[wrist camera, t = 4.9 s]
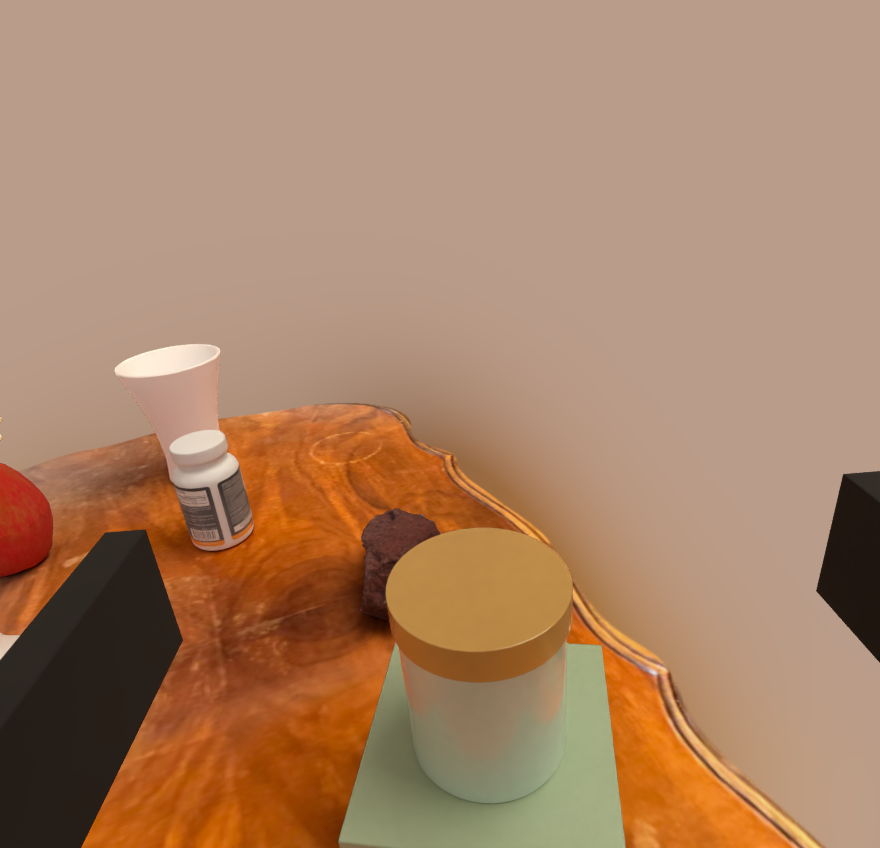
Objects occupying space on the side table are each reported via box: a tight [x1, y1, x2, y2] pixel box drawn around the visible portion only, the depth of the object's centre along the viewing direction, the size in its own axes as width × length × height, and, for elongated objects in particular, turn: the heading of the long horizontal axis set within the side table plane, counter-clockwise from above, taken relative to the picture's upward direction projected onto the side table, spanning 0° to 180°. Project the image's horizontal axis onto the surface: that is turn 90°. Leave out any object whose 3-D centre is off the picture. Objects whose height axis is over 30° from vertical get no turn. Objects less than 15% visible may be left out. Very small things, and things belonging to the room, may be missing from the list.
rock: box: [360, 508, 440, 621], centre depth 47 cm, size 11×6×8 cm
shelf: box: [338, 642, 626, 848], centre depth 29 cm, size 11×11×7 cm
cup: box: [114, 344, 221, 483], centre depth 66 cm, size 10×10×14 cm
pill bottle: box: [169, 430, 254, 551], centre depth 54 cm, size 6×6×10 cm
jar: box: [385, 528, 573, 804], centre depth 26 cm, size 7×7×8 cm
